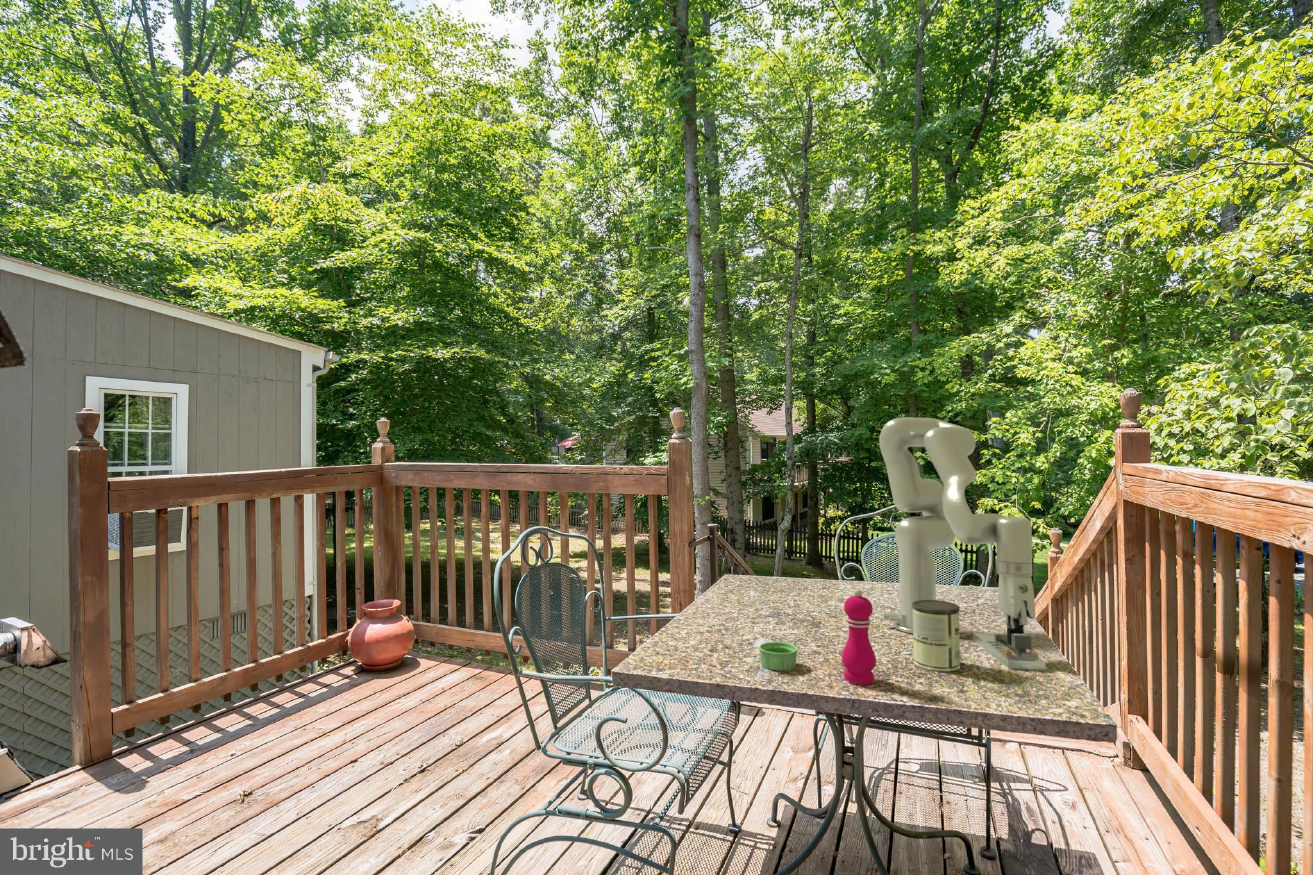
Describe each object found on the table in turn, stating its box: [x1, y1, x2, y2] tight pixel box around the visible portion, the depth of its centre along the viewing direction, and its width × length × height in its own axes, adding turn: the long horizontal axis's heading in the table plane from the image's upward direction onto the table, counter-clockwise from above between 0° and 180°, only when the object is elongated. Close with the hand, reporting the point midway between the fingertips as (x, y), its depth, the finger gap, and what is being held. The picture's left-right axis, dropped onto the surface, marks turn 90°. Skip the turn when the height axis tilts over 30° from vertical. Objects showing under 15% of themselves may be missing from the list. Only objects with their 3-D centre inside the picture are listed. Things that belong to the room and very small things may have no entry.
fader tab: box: [1011, 633, 1032, 655], centre depth 153 cm, size 4×2×5 cm, turn 83°
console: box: [972, 632, 1046, 671], centre depth 161 cm, size 8×23×4 cm, turn 173°
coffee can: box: [912, 599, 961, 673], centre depth 153 cm, size 10×10×14 cm
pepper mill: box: [841, 588, 877, 686], centre depth 143 cm, size 7×7×20 cm
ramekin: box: [758, 641, 799, 671], centre depth 153 cm, size 9×9×4 cm
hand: (1015, 644), depth 157 cm, fingers closed
